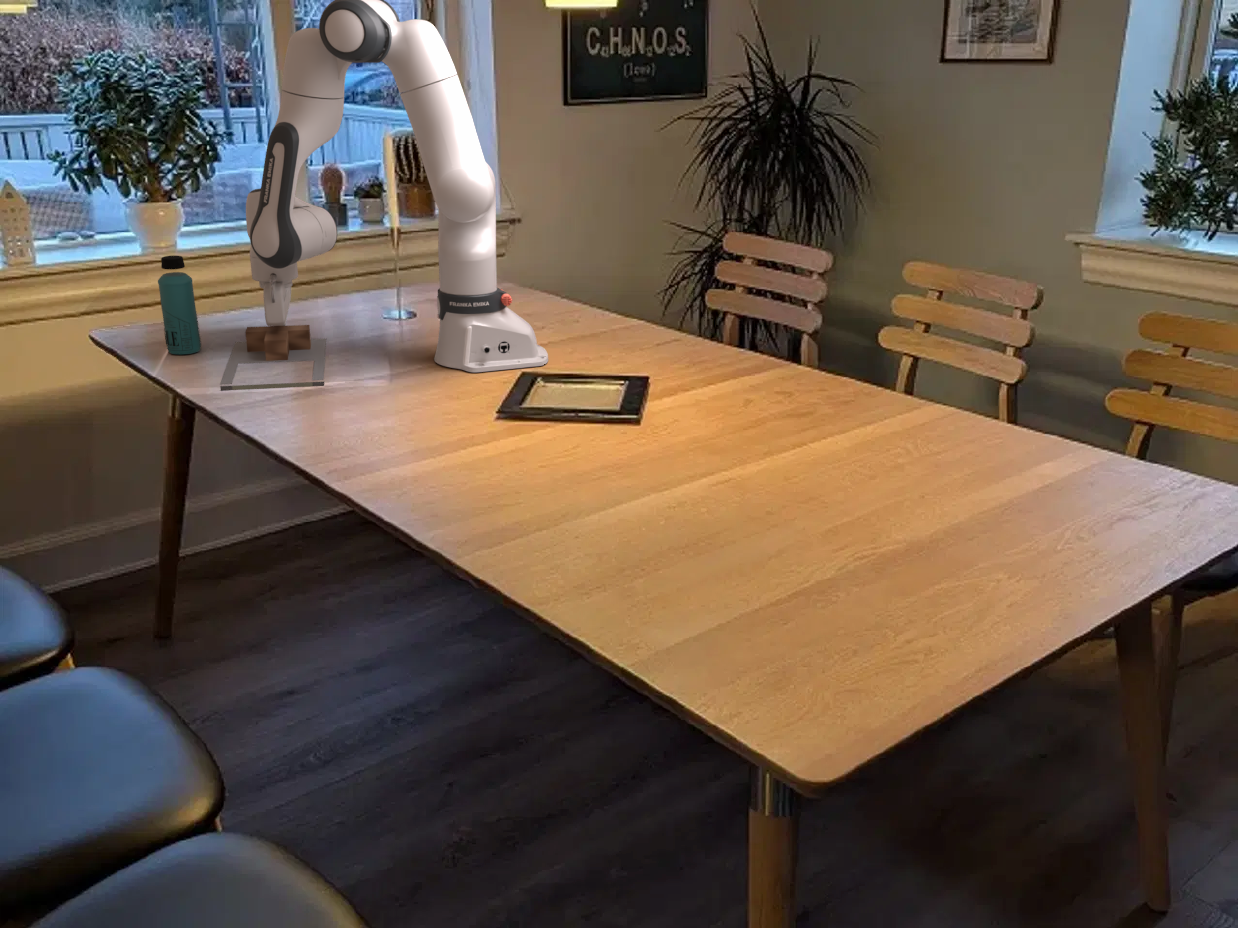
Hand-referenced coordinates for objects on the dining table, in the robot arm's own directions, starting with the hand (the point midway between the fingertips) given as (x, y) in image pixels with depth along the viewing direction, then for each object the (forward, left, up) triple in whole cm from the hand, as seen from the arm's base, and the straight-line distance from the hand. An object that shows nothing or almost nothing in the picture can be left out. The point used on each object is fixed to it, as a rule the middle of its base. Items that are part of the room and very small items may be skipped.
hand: (281, 337), depth 226 cm
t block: (0, +8, -1) cm, 8 cm away
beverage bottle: (+18, +4, -2) cm, 19 cm away
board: (0, +13, -2) cm, 13 cm away
